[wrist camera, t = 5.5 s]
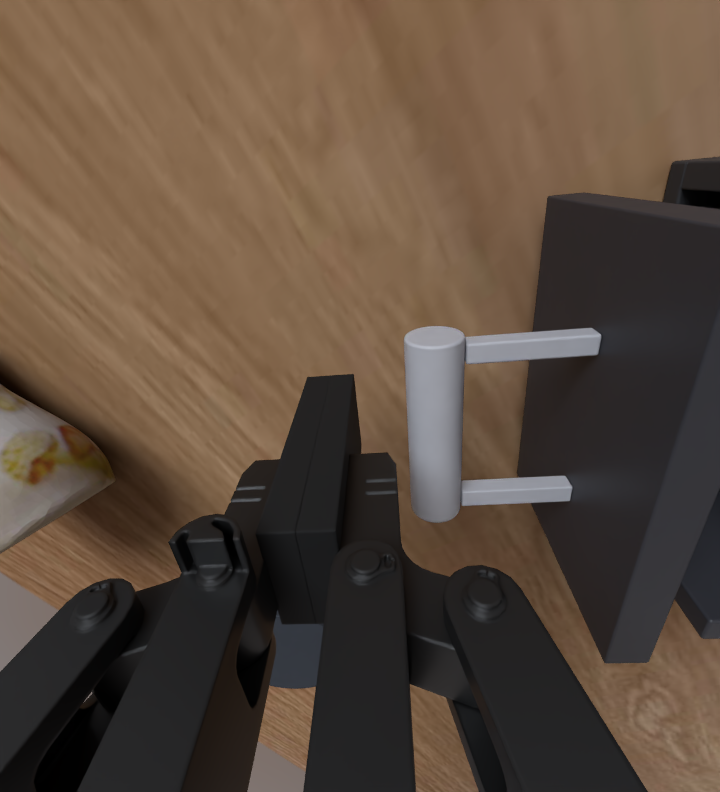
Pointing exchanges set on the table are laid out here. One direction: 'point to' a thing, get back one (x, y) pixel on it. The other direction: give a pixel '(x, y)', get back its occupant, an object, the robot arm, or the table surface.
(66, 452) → the mug
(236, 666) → the robot arm
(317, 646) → the coaster
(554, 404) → the drawer
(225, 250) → the table surface
